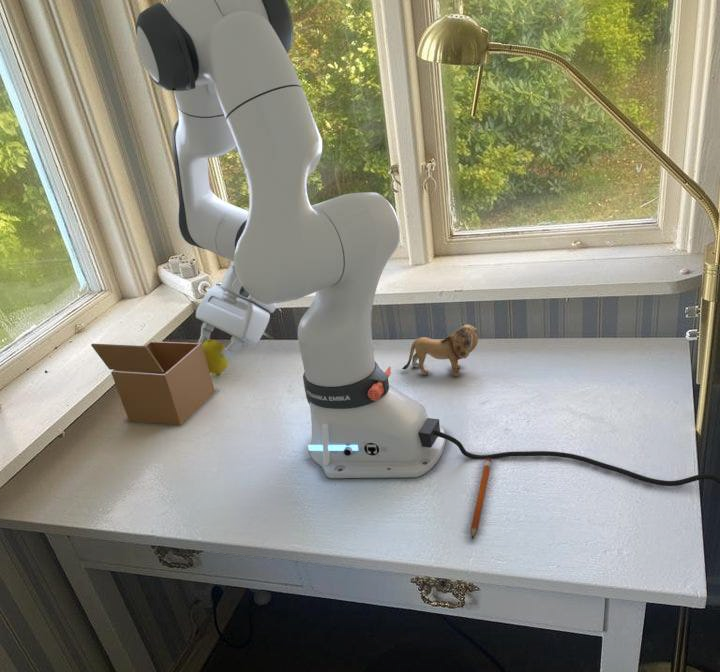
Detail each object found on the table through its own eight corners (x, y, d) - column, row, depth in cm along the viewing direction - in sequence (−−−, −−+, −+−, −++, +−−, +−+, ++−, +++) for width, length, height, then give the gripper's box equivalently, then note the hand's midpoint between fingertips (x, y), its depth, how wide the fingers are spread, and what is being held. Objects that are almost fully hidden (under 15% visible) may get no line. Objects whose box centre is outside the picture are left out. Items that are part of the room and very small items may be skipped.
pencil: (491, 462, 112) (491, 457, 112) (475, 542, 98) (474, 537, 97) (485, 462, 113) (485, 457, 112) (468, 541, 98) (468, 536, 98)
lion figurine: (479, 363, 139) (478, 319, 134) (478, 376, 135) (476, 331, 130) (404, 365, 142) (399, 322, 137) (400, 378, 138) (395, 335, 133)
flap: (147, 345, 123) (146, 347, 123) (163, 371, 128) (163, 372, 128) (91, 343, 127) (90, 345, 127) (110, 367, 132) (109, 369, 132)
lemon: (218, 366, 153) (209, 331, 149) (237, 371, 150) (228, 335, 146) (199, 378, 150) (189, 343, 145) (218, 383, 147) (209, 347, 142)
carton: (215, 391, 144) (201, 343, 138) (180, 425, 135) (164, 375, 129) (165, 387, 148) (150, 341, 142) (128, 420, 139) (110, 371, 133)
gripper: (205, 272, 151) (177, 333, 152) (258, 293, 137) (226, 359, 138) (228, 286, 155) (201, 344, 157) (282, 307, 142) (251, 371, 143)
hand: (213, 352), depth 147 cm, fingers open, 8 cm apart
